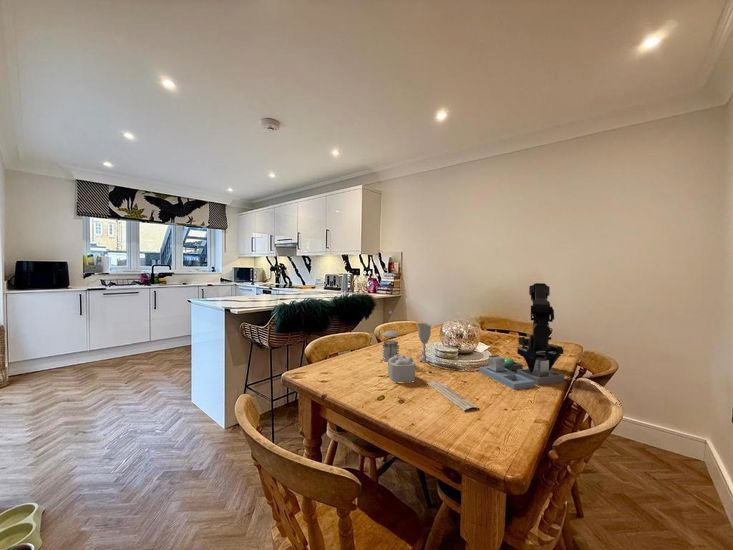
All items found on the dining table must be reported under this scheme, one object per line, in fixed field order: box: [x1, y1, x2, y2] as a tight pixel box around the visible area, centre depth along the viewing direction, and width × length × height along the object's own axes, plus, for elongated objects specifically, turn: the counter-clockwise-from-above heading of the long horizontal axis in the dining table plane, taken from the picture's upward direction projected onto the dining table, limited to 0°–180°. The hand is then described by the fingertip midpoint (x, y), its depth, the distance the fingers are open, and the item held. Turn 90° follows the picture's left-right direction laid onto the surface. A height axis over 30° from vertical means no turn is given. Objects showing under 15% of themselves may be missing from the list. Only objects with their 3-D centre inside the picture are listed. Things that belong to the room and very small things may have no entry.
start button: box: [504, 357, 515, 365], centre depth 138 cm, size 4×4×3 cm
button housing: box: [505, 360, 524, 372], centre depth 138 cm, size 8×8×3 cm
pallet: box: [478, 365, 536, 390], centre depth 125 cm, size 10×20×2 cm, turn 17°
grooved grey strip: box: [426, 380, 480, 412], centre depth 109 cm, size 24×7×2 cm, turn 18°
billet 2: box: [531, 357, 549, 378], centre depth 125 cm, size 4×4×8 cm
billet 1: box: [488, 354, 506, 373], centre depth 130 cm, size 4×4×8 cm
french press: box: [382, 310, 400, 362], centre depth 146 cm, size 10×12×25 cm
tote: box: [516, 367, 565, 386], centre depth 125 cm, size 14×11×3 cm
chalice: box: [417, 322, 432, 361], centre depth 149 cm, size 7×7×18 cm
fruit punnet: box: [387, 354, 416, 382], centre depth 127 cm, size 10×13×9 cm
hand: (539, 371), depth 125 cm, fingers open, 9 cm apart
